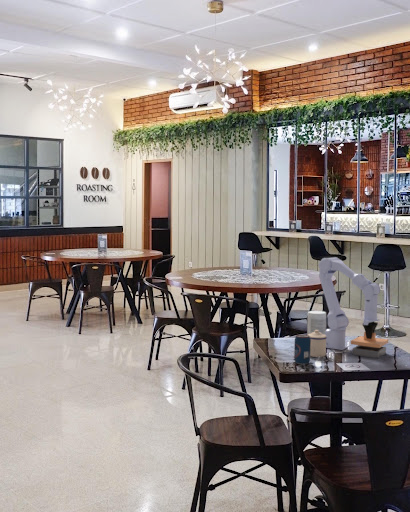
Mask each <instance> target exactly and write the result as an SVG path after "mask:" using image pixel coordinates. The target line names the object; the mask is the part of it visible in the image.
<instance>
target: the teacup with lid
mask: <svg viewBox="0 0 410 512" xmlns="http://www.w3.org/2000/svg"><path fill="white" fill-rule="evenodd" d="M308 335H309V337H310V339H311V349H310V357H311V358H312V357H313V358H322V357H326V353H327V349H326V338H327V337H326V335H324V334H322V333H320V332H319V330H315V332H313V333H311V334H308Z"/></svg>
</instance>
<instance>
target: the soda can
mask: <svg viewBox="0 0 410 512" xmlns="http://www.w3.org/2000/svg"><path fill="white" fill-rule="evenodd" d="M310 349H311V339H310V337H309V335H307V334H296V336H295V338H294V350H293V351H294V352H293V354H294V355H293V356H294V357H293V360H294V363H295V364H298V365H309V363H310V362H311V356H310Z"/></svg>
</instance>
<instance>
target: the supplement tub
mask: <svg viewBox="0 0 410 512" xmlns="http://www.w3.org/2000/svg"><path fill="white" fill-rule="evenodd" d="M306 320H307V325H306V326H307V334H306V335H308V334H311V333H313V332H315V330H319V332H320V333H322V334H324V335H325V332H326V330H327V312H326V311H324V310H322V311H321V310H310V311H307V319H306Z"/></svg>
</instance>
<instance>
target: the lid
mask: <svg viewBox="0 0 410 512" xmlns="http://www.w3.org/2000/svg"><path fill="white" fill-rule="evenodd" d="M376 334H377V333H376V332H374V333H373V334H372V338H371V339H367V338H366V333H365V331H364V332H363V335H359V336H357V337H355V338H354V339H351V340H350V345H354V346H358V345H361V346H368V347H376V348H380V347H385V345H387V344H389V339H386V338H381V337H380V338H379V337H376V336H377V335H376Z"/></svg>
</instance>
